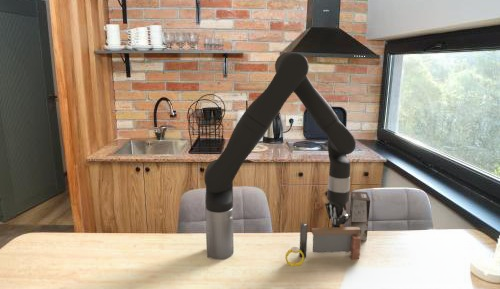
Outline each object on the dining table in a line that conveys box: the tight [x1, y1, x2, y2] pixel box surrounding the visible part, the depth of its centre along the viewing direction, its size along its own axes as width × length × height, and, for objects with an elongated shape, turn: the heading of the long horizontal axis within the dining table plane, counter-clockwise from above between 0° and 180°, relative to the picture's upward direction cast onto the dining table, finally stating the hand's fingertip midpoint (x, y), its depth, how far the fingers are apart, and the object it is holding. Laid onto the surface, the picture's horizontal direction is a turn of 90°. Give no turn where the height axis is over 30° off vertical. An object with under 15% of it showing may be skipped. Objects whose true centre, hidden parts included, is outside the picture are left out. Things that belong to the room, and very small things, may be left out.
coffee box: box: [347, 191, 371, 241], centre depth 132 cm, size 9×6×16 cm
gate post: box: [298, 222, 308, 259], centre depth 118 cm, size 2×2×12 cm
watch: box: [285, 246, 305, 267], centre depth 113 cm, size 6×3×6 cm, turn 90°
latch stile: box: [349, 235, 362, 261], centre depth 117 cm, size 2×2×8 cm
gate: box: [311, 226, 361, 254], centre depth 118 cm, size 16×2×8 cm, turn 93°
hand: (335, 232), depth 125 cm, fingers closed
